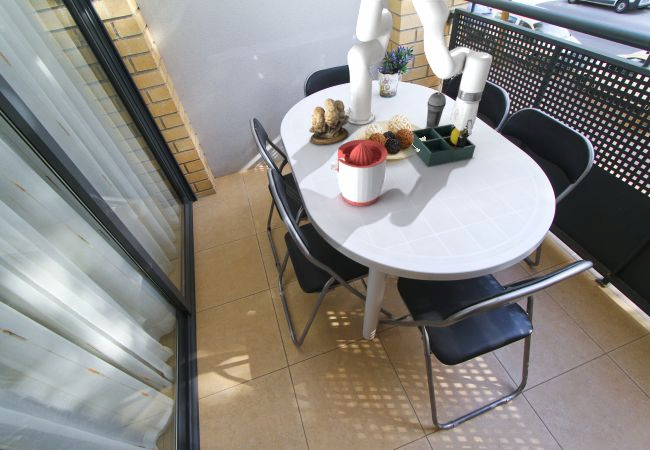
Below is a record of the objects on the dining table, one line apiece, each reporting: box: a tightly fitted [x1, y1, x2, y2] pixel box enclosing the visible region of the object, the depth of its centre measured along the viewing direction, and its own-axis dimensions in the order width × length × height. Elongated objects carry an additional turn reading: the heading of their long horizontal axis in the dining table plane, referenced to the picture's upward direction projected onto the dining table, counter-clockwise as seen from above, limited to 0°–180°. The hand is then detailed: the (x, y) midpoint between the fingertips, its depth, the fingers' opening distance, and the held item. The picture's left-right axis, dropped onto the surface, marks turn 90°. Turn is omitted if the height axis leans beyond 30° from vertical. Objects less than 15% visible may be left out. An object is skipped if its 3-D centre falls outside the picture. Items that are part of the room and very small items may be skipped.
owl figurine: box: [308, 98, 349, 146], centre depth 131 cm, size 18×12×17 cm, turn 116°
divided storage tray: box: [410, 123, 476, 167], centre depth 122 cm, size 18×18×5 cm
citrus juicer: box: [330, 139, 389, 207], centre depth 101 cm, size 16×17×20 cm
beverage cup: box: [426, 82, 447, 128], centre depth 129 cm, size 7×7×20 cm
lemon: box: [451, 127, 466, 145], centre depth 116 cm, size 6×6×8 cm
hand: (457, 141), depth 118 cm, fingers closed on lemon, 5 cm apart
